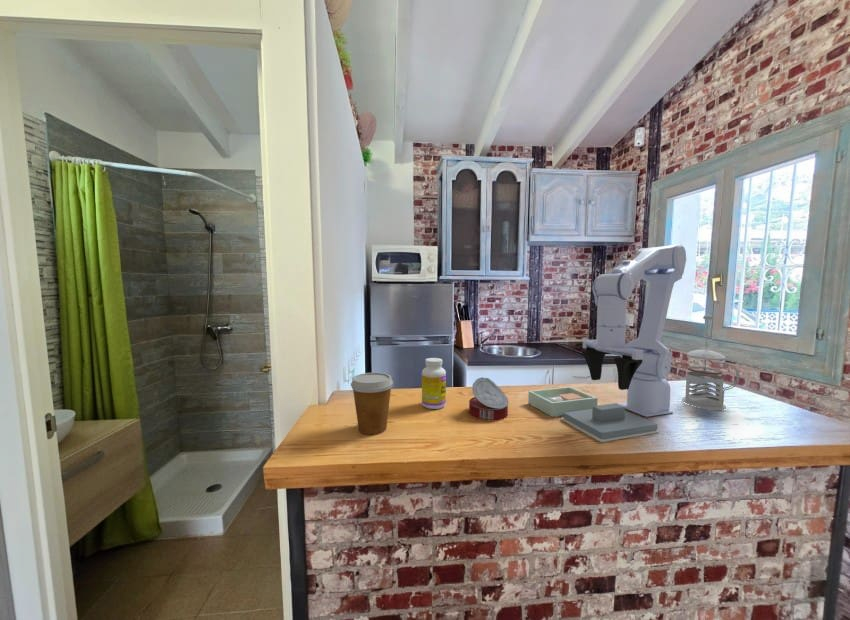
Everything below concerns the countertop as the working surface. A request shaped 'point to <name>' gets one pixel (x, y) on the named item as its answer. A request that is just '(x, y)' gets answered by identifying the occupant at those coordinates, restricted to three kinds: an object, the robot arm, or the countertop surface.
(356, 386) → the disposable coffee cup
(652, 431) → the mat
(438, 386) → the supplement bottle
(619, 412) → the lid
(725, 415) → the countertop surface
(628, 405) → the robot arm
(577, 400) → the storage box
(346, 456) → the countertop surface
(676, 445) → the countertop surface
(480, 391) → the canned food
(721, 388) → the french press
